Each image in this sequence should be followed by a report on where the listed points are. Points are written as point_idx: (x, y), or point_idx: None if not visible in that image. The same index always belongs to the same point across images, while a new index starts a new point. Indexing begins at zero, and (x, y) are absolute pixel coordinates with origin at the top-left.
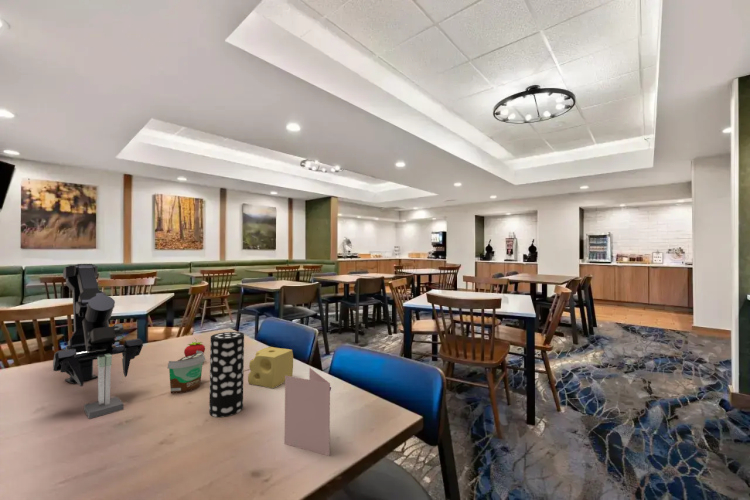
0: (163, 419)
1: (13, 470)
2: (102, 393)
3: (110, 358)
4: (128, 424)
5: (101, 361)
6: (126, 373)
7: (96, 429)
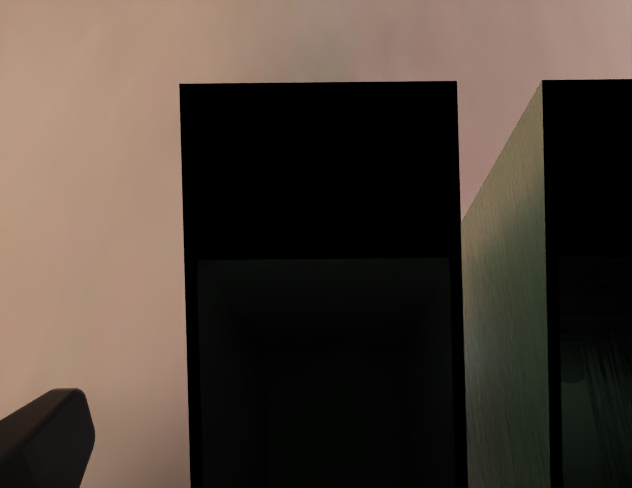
0: (142, 6)
1: None
2: None
3: (265, 146)
4: (290, 67)
5: (621, 179)
6: (53, 398)
7: None
